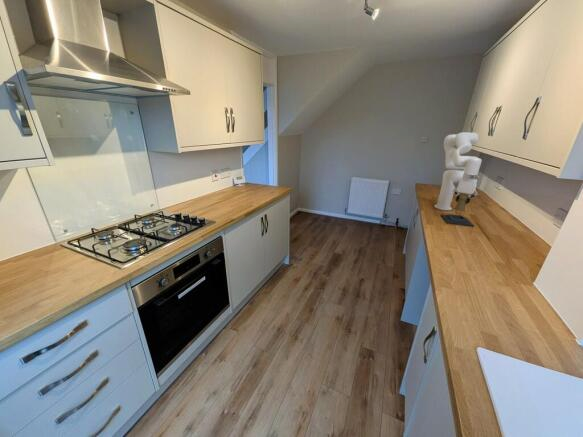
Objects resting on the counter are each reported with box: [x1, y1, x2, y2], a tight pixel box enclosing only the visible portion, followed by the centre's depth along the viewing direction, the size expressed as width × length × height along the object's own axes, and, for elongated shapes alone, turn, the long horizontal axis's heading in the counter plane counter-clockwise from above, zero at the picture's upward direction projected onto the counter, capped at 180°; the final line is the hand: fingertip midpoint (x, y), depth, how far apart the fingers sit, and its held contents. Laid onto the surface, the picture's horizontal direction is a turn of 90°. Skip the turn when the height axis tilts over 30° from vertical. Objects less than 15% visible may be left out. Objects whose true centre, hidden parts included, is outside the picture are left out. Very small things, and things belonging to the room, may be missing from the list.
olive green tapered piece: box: [454, 194, 468, 212], centre depth 166 cm, size 6×6×11 cm
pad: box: [440, 213, 474, 228], centre depth 171 cm, size 16×16×3 cm
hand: (462, 202), depth 166 cm, fingers closed on olive green tapered piece, 5 cm apart
